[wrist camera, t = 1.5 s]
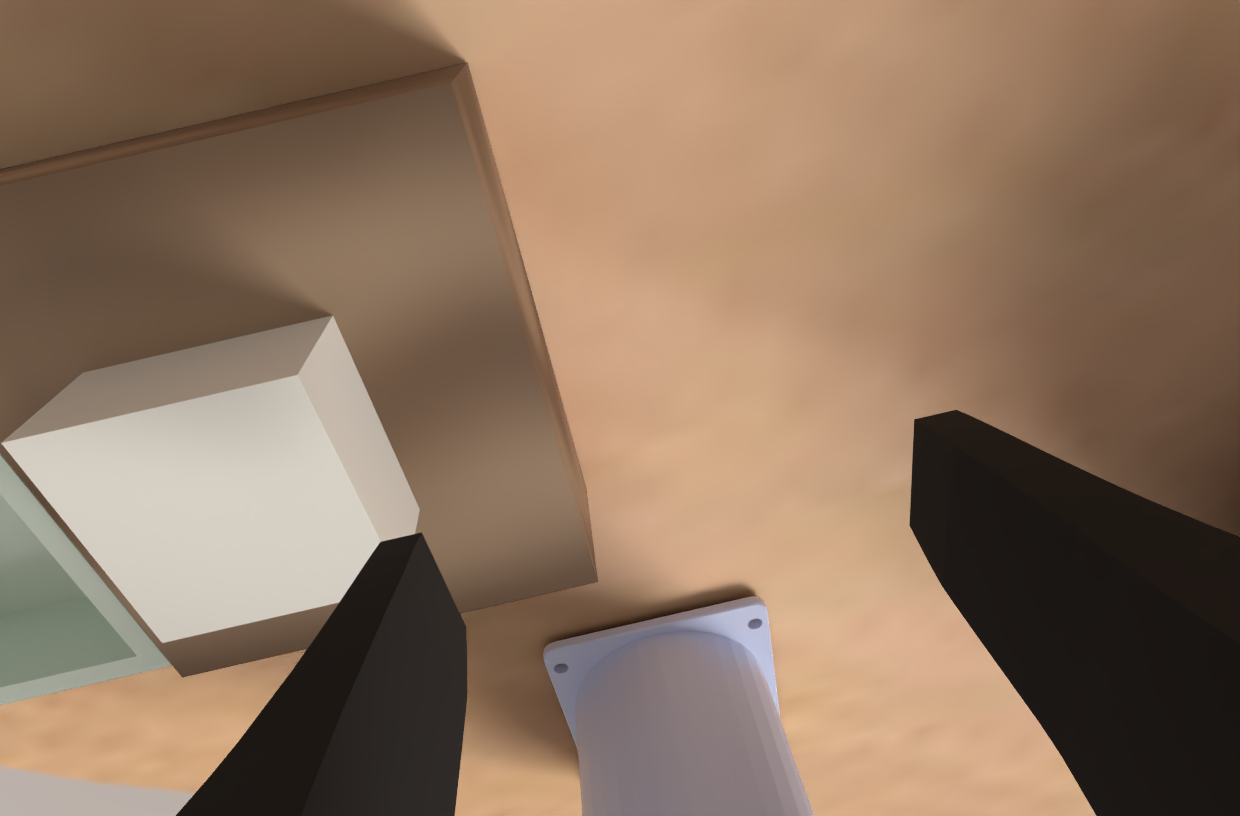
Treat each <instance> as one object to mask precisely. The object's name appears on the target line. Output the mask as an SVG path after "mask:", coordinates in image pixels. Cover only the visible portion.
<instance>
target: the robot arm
mask: <svg viewBox="0 0 1240 816" xmlns="http://www.w3.org/2000/svg"><path fill="white" fill-rule="evenodd" d="M910 527H911V529H912V531H913V533H914V535H915V537H916V539H917V541H918V542H919V544H920V546H921V548H922V550H923V552H924V554H925V556H926V558H927V560H928V562H929V563H930V565H931V567H932V569H933V571H934V572H935V574H936V576H937V578H938V580H939V581H940V583H941V585H942V587H943V588H944V589H945V591H946V592H947V594H948V595H949V597H950V598H951V600H952V601H953V602H954V604H955V605H956V607H957V608H958V610H959V611H960V612H961V614H962V615H963V617H964V618H965V619H966V621H967V622H968V624H969V625H970V627H971V628H972V629H973V631H974V632H975V634H976V635H977V636H978V638H979V639H980V641H981V642H982V643H983V645H984V646H985V648H986V649H987V650H988V652H989V653H990V654H991V656H992V657H993V659H994V660H995V661H996V663H997V664H998V666H999V667H1000V668H1001V670H1002V671H1003V673H1004V674H1005V675H1006V677H1007V678H1008V679H1009V681H1010V682H1011V684H1012V685H1013V686H1014V688H1015V689H1016V691H1017V692H1018V693H1019V695H1020V696H1021V698H1022V699H1023V700H1024V702H1025V703H1026V705H1027V706H1028V707H1029V709H1030V710H1031V711H1032V713H1033V714H1034V716H1035V717H1036V718H1037V720H1038V721H1039V723H1040V724H1041V726H1042V727H1043V729H1044V730H1045V732H1046V733H1047V735H1048V736H1049V738H1050V739H1051V741H1052V742H1053V744H1054V745H1055V747H1056V748H1057V750H1058V751H1059V753H1060V754H1061V756H1062V758H1063V759H1064V761H1065V763H1066V764H1067V766H1068V768H1069V769H1070V771H1071V773H1072V775H1073V776H1074V778H1075V780H1076V781H1077V783H1078V785H1079V787H1080V788H1081V790H1082V792H1083V793H1084V795H1085V797H1086V798H1087V800H1088V802H1089V804H1090V805H1091V807H1092V809H1093V810H1094V812H1095V814H1096V816H1240V537H1238V536H1236V535H1233V534H1230V533H1228V532H1225V531H1223V530H1220V529H1217V528H1215V527H1212V526H1210V525H1207V524H1205V523H1203V522H1200V521H1198V520H1195V519H1193V518H1191V517H1188V516H1186V515H1183V514H1181V513H1179V512H1176V511H1174V510H1171V509H1169V508H1167V507H1164V506H1162V505H1159V504H1157V503H1155V502H1152V501H1150V500H1148V499H1145V498H1143V497H1141V496H1139V495H1136V494H1134V493H1132V492H1130V491H1127V490H1125V489H1123V488H1121V487H1118V486H1116V485H1114V484H1112V483H1110V482H1107V481H1105V480H1103V479H1101V478H1099V477H1097V476H1094V475H1092V474H1090V473H1088V472H1086V471H1084V470H1082V469H1080V468H1077V467H1075V466H1073V465H1071V464H1069V463H1067V462H1065V461H1063V460H1061V459H1059V458H1057V457H1054V456H1052V455H1050V454H1048V453H1046V452H1044V451H1042V450H1040V449H1038V448H1036V447H1034V446H1032V445H1030V444H1028V443H1026V442H1024V441H1022V440H1020V439H1018V438H1016V437H1013V436H1011V435H1009V434H1007V433H1005V432H1003V431H1001V430H999V429H997V428H995V427H993V426H991V425H989V424H987V423H984V422H982V421H980V420H978V419H976V418H974V417H972V416H969V415H967V414H965V413H962V412H960V411H958V410H954V411H949V412H945V413H941V414H936V415H932V416H928V417H923V418H919V419H915V420H914V441H913V463H912V486H911V508H910ZM753 619H755V620H753ZM543 659H544V663H545V666H546V669H547V671H548V674H549V677H550V679H551V682H552V684H553V687H554V690H555V692H556V695H557V697H558V700H559V703H560V705H561V708H562V710H563V713H564V716H565V718H566V721H567V724H568V726H569V729H570V731H571V734H572V737H573V739H574V742H575V744H576V747H577V750H578V759H579V773H580V787H581V801H582V815H583V816H814V813H813V811H812V808H811V805H810V802H809V799H808V796H807V794H806V791H805V788H804V785H803V782H802V779H801V777H800V774H799V771H798V768H797V765H796V762H795V760H794V757H793V754H792V751H791V748H790V745H789V743H788V740H787V737H786V734H785V731H784V728H783V726H782V723H781V720H780V712H779V704H778V695H777V687H776V679H775V670H774V662H773V653H772V645H771V636H770V628H769V620H768V611H767V608H766V605H765V603H764V600H763V599H761V598H760V597H755V596H753V597H746V598H742V599H738V600H733V601H729V602H725V603H720V604H716V605H712V606H707V607H703V608H699V609H694V610H690V611H686V612H681V613H677V614H672V615H668V616H664V617H659V618H655V619H651V620H646V621H642V622H638V623H633V624H629V625H625V626H620V627H616V628H612V629H607V630H603V631H598V632H594V633H590V634H585V635H581V636H577V637H572V638H568V639H564V640H559V641H555V642H552V643H549V644H548V645H547V646H546V647H545V648H544V650H543ZM560 663H564V664H560ZM466 702H467V643H466V626H465V624H464V622H463V619H462V617H461V615H460V613H459V611H458V609H457V607H456V604H455V602H454V600H453V598H452V596H451V594H450V592H449V589H448V587H447V585H446V583H445V581H444V579H443V577H442V574H441V572H440V570H439V568H438V566H437V564H436V562H435V559H434V557H433V555H432V553H431V551H430V549H429V547H428V544H427V542H426V540H425V538H424V536H423V534H422V532H421V533H417V534H412V535H408V536H404V537H399V538H395V539H391V540H386V541H382V542H380V543H379V545H378V546H377V547H376V549H375V550H374V552H373V553H372V554H371V556H370V557H369V559H368V560H367V562H366V563H365V565H364V566H363V568H362V569H361V571H360V572H359V574H358V575H357V577H356V578H355V580H354V581H353V583H352V584H351V586H350V587H349V589H348V590H347V592H346V593H345V595H344V596H343V598H342V599H341V601H340V602H339V604H338V605H337V607H336V608H335V610H334V611H333V613H332V614H331V616H330V617H329V618H328V620H327V621H326V623H325V624H324V626H323V627H322V629H321V630H320V632H319V633H318V635H317V636H316V637H315V639H314V640H313V642H312V643H311V645H310V646H309V647H308V649H307V650H306V652H305V653H304V655H303V656H302V658H301V659H300V660H299V662H298V663H297V665H296V666H295V668H294V669H293V670H292V672H291V673H290V674H289V676H288V677H287V678H286V680H285V681H284V682H283V684H282V685H281V686H280V688H279V689H278V690H277V691H276V693H275V694H274V695H273V697H272V698H271V699H270V701H269V702H268V703H267V705H266V706H265V707H264V709H263V710H262V711H261V713H260V714H259V715H258V717H257V718H256V719H255V721H254V722H253V723H252V725H251V726H250V727H249V729H248V730H247V731H246V733H245V734H244V735H243V736H242V738H241V739H240V740H239V742H238V743H237V744H236V745H235V747H234V748H233V749H232V750H231V752H230V753H229V754H228V755H227V756H226V758H225V759H224V760H223V761H222V763H221V764H220V765H219V766H218V767H217V769H216V770H215V771H214V772H213V773H212V775H211V776H210V777H209V778H208V779H207V781H206V782H205V783H204V784H203V785H202V786H201V787H200V789H199V790H198V791H197V792H196V793H195V794H194V795H193V797H192V798H191V799H190V800H189V801H188V802H187V804H186V805H185V806H184V807H183V808H182V809H181V810H180V811H179V813H178V814H177V815H176V816H454V815H455V806H456V796H457V787H458V778H459V769H460V760H461V751H462V742H463V732H464V722H465V713H466Z"/></svg>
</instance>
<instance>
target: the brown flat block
mask: <svg viewBox="0 0 1240 816" xmlns="http://www.w3.org/2000/svg"><path fill="white" fill-rule="evenodd" d="M332 315H333V317H334V319H335V321H336V323H337V326H338V328H339V330H340V332H341V335H342V337H343V339H344V341H345V344H346V346H347V348H348V350H349V352H350V355H351V357H352V359H353V361H354V364H355V366H356V368H357V370H358V373H359V375H360V377H361V379H362V382H363V384H364V386H365V388H366V390H367V393H368V395H369V397H370V399H371V402H372V404H373V406H374V408H375V411H376V413H377V415H378V417H379V420H380V422H381V424H382V426H383V428H384V431H385V433H386V435H387V437H388V440H389V442H390V444H391V446H392V449H393V451H394V453H395V455H396V457H397V460H398V462H399V464H400V466H401V469H402V471H403V473H404V475H405V478H406V480H407V482H408V484H409V487H410V489H411V491H412V493H413V495H414V498H415V500H416V502H417V504H418V507H419V509H420V511H419V516H418V521H417V526H416V531H415V534H417V533H421V532H422V534H423V536H424V538H425V540H426V542H427V544H428V547H429V549H430V551H431V553H432V555H433V557H434V559H435V562H436V564H437V566H438V568H439V570H440V572H441V574H442V577H443V579H444V581H445V583H446V585H447V587H448V589H449V592H450V594H451V596H452V598H453V600H454V602H455V604H456V607H457V609H458V611H459V613H465V612H469V611H473V610H478V609H482V608H486V607H491V606H495V605H499V604H504V603H508V602H512V601H517V600H521V599H526V598H530V597H534V596H539V595H543V594H547V593H552V592H556V591H560V590H565V589H569V588H573V587H578V586H582V585H586V584H591V583H595V582H598V579H597V571H596V563H595V555H594V547H593V539H592V531H591V523H590V515H589V507H588V499H587V491H586V486H585V482H584V479H583V475H582V472H581V468H580V464H579V461H578V457H577V454H576V450H575V447H574V443H573V439H572V436H571V432H570V429H569V425H568V421H567V418H566V414H565V411H564V407H563V403H562V400H561V396H560V393H559V389H558V386H557V382H556V378H555V375H554V371H553V368H552V364H551V360H550V357H549V353H548V350H547V346H546V343H545V339H544V335H543V332H542V328H541V325H540V321H539V317H538V314H537V310H536V307H535V303H534V300H533V296H532V292H531V289H530V285H529V282H528V278H527V274H526V271H525V267H524V264H523V260H522V256H521V253H520V249H519V246H518V242H517V239H516V235H515V231H514V228H513V224H512V221H511V217H510V213H509V210H508V206H507V203H506V199H505V196H504V192H503V188H502V185H501V181H500V178H499V174H498V170H497V167H496V163H495V160H494V156H493V152H492V149H491V145H490V142H489V138H488V135H487V131H486V127H485V124H484V120H483V117H482V113H481V109H480V106H479V102H478V99H477V95H476V92H475V88H474V84H473V81H472V77H471V74H470V70H469V66H468V63H464V64H459V65H455V66H451V67H446V68H442V69H438V70H433V71H429V72H424V73H420V74H416V75H411V76H407V77H403V78H398V79H394V80H390V81H385V82H381V83H376V84H372V85H368V86H363V87H359V88H355V89H350V90H346V91H341V92H337V93H333V94H328V95H324V96H320V97H315V98H311V99H306V100H302V101H298V102H293V103H289V104H285V105H280V106H276V107H272V108H267V109H263V110H258V111H254V112H250V113H245V114H241V115H237V116H232V117H228V118H223V119H219V120H215V121H210V122H206V123H202V124H197V125H193V126H189V127H184V128H180V129H175V130H171V131H167V132H162V133H158V134H154V135H149V136H145V137H140V138H136V139H132V140H127V141H123V142H119V143H114V144H110V145H106V146H101V147H97V148H92V149H88V150H84V151H79V152H75V153H71V154H66V155H62V156H57V157H53V158H49V159H44V160H40V161H36V162H31V163H27V164H23V165H18V166H14V167H9V168H5V169H1V170H0V454H1V455H2V456H3V457H4V459H5V460H6V461H7V462H8V464H9V465H10V466H11V467H12V468H13V470H14V471H15V472H16V473H17V475H18V476H19V477H20V478H21V480H22V481H23V482H24V483H25V484H26V486H27V487H28V488H29V489H30V491H31V492H32V493H33V494H34V496H35V497H36V498H37V499H38V500H39V502H40V503H41V504H42V505H43V507H44V508H45V509H46V510H47V511H48V513H49V514H50V515H51V516H52V518H53V519H54V520H55V521H56V523H57V524H58V525H59V526H60V527H61V529H62V530H63V531H64V532H65V534H66V535H67V536H68V537H69V539H70V540H71V541H72V542H73V543H74V545H75V546H76V547H77V548H78V550H79V551H80V552H81V553H82V555H83V556H84V557H85V558H86V559H87V561H88V562H89V563H90V564H91V566H92V567H93V568H94V569H95V570H96V572H97V573H98V574H99V575H100V577H101V578H102V579H103V580H104V582H105V583H106V584H107V585H108V586H109V588H110V589H111V590H112V591H113V593H114V594H115V595H116V596H117V598H118V599H119V600H120V601H121V602H122V604H123V605H124V606H125V607H126V609H127V610H128V611H129V612H130V613H131V615H132V616H133V617H134V618H135V620H136V621H137V622H138V623H139V625H140V626H141V627H142V628H143V629H144V631H145V632H146V633H147V634H148V636H149V637H150V638H151V639H152V641H153V642H154V643H155V644H156V645H157V647H158V648H159V649H160V650H161V652H162V653H163V654H164V655H165V657H166V658H167V659H168V660H169V661H170V663H171V664H172V665H173V666H174V668H175V669H176V670H177V671H178V672H179V674H180V675H181V676H182V677H186V676H190V675H195V674H199V673H203V672H208V671H212V670H217V669H221V668H225V667H230V666H234V665H238V664H243V663H247V662H251V661H256V660H260V659H264V658H269V657H273V656H277V655H282V654H286V653H291V652H295V651H299V650H304V649H308V647H309V646H310V645H311V643H312V642H313V640H314V639H315V637H316V636H317V635H318V633H319V632H320V630H321V629H322V627H323V626H324V624H325V623H326V621H327V620H328V618H329V617H330V616H331V614H332V613H333V611H334V610H335V608H336V607H337V605H338V604H339V603H335V604H330V605H326V606H322V607H317V608H313V609H309V610H304V611H300V612H296V613H291V614H287V615H283V616H278V617H274V618H269V619H265V620H261V621H256V622H252V623H248V624H243V625H239V626H235V627H230V628H226V629H222V630H217V631H213V632H209V633H204V634H200V635H195V636H191V637H187V638H182V639H178V640H174V641H169V642H165V643H162V642H161V641H160V640H159V638H158V637H157V636H156V635H155V634H154V632H153V631H152V630H151V629H150V627H149V626H148V625H147V624H146V622H145V621H144V620H143V619H142V617H141V616H140V615H139V614H138V612H137V611H136V610H135V609H134V607H133V606H132V605H131V604H130V602H129V601H128V600H127V599H126V597H125V596H124V595H123V594H122V593H121V591H120V590H119V589H118V588H117V586H116V585H115V584H114V583H113V581H112V580H111V579H110V578H109V576H108V575H107V574H106V573H105V571H104V570H103V569H102V568H101V566H100V565H99V564H98V563H97V561H96V560H95V559H94V558H93V557H92V555H91V554H90V553H89V552H88V550H87V549H86V548H85V547H84V545H83V544H82V543H81V542H80V540H79V539H78V538H77V537H76V535H75V534H74V533H73V532H72V530H71V529H70V528H69V527H68V525H67V524H66V523H65V522H64V520H63V519H62V518H61V517H60V516H59V514H58V513H57V512H56V511H55V509H54V508H53V507H52V506H51V504H50V503H49V502H48V501H47V499H46V498H45V497H44V496H43V494H42V493H41V492H40V491H39V489H38V488H37V487H36V486H35V484H34V483H33V482H32V481H31V479H30V478H29V477H28V476H27V475H26V473H25V472H24V471H23V470H22V468H21V467H20V466H19V465H18V463H17V462H16V461H15V460H14V458H13V457H12V456H11V455H10V453H9V452H8V451H7V450H6V448H5V447H4V446H3V445H2V442H3V441H4V440H5V439H6V438H8V437H9V436H10V435H11V434H12V433H13V432H14V431H16V430H17V429H18V428H19V427H20V426H21V425H23V424H24V423H25V422H26V421H27V420H28V419H30V418H31V417H32V416H33V415H34V414H35V413H37V412H38V411H39V410H40V409H41V408H42V407H44V406H45V405H46V404H47V403H48V402H49V401H51V400H52V399H53V398H54V397H55V396H56V395H58V394H59V393H60V392H61V391H62V390H63V389H65V388H66V387H67V386H68V385H69V384H70V383H71V382H73V381H74V380H75V379H76V378H77V377H78V376H80V375H81V374H82V373H84V372H88V371H92V370H97V369H101V368H105V367H110V366H114V365H119V364H123V363H127V362H132V361H136V360H140V359H145V358H149V357H153V356H158V355H162V354H167V353H171V352H175V351H180V350H184V349H188V348H193V347H197V346H201V345H206V344H210V343H215V342H219V341H223V340H228V339H232V338H236V337H241V336H245V335H249V334H254V333H258V332H263V331H267V330H271V329H276V328H280V327H284V326H289V325H293V324H297V323H302V322H306V321H311V320H315V319H319V318H324V317H328V316H332Z"/></svg>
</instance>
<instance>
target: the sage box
mask: <svg viewBox="0 0 1240 816" xmlns="http://www.w3.org/2000/svg"><path fill="white" fill-rule="evenodd" d="M169 666H172V664H171V663H170V661H169V660H168V659H167V658H166V657H165V655H164V654H163V653H162V652H161V650H160V649H159V648H158V647H157V645H156V644H155V643H154V642H153V641H152V639H151V638H150V637H149V636H148V634H147V633H146V632H145V631H144V629H143V628H142V627H141V626H140V625H139V623H138V622H137V621H136V620H135V618H134V617H133V616H132V615H131V613H130V612H129V611H128V610H127V609H126V607H125V606H124V605H123V604H122V602H121V601H120V600H119V599H118V598H117V596H116V595H115V594H114V593H113V591H112V590H111V589H110V588H109V586H108V585H107V584H106V583H105V582H104V580H103V579H102V578H101V577H100V575H99V574H98V573H97V572H96V570H95V569H94V568H93V567H92V566H91V564H90V563H89V562H88V561H87V559H86V558H85V557H84V556H83V555H82V553H81V552H80V551H79V550H78V548H77V547H76V546H75V545H74V543H73V542H72V541H71V540H70V539H69V537H68V536H67V535H66V534H65V532H64V531H63V530H62V529H61V527H60V526H59V525H58V524H57V523H56V521H55V520H54V519H53V518H52V516H51V515H50V514H49V513H48V511H47V510H46V509H45V508H44V507H43V505H42V504H41V503H40V502H39V500H38V499H37V498H36V497H35V496H34V494H33V493H32V492H31V491H30V489H29V488H28V487H27V486H26V484H25V483H24V482H23V481H22V480H21V478H20V477H19V476H18V475H17V473H16V472H15V471H14V470H13V468H12V467H11V466H10V465H9V464H8V462H7V461H6V460H5V459H4V457H3V456H2V455H1V454H0V705H3V704H8V703H12V702H16V701H21V700H25V699H29V698H34V697H38V696H42V695H47V694H51V693H56V692H60V691H64V690H69V689H73V688H77V687H82V686H86V685H90V684H95V683H99V682H103V681H108V680H112V679H116V678H121V677H125V676H130V675H134V674H138V673H143V672H147V671H151V670H156V669H160V668H164V667H169Z"/></svg>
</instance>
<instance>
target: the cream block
mask: <svg viewBox="0 0 1240 816" xmlns="http://www.w3.org/2000/svg"><path fill="white" fill-rule="evenodd" d="M2 445H3V446H4V447H5V448H6V450H7V451H8V452H9V453H10V455H11V456H12V457H13V458H14V460H15V461H16V462H17V463H18V465H19V466H20V467H21V468H22V470H23V471H24V472H25V473H26V475H27V476H28V477H29V478H30V479H31V481H32V482H33V483H34V484H35V486H36V487H37V488H38V489H39V491H40V492H41V493H42V494H43V496H44V497H45V498H46V499H47V501H48V502H49V503H50V504H51V506H52V507H53V508H54V509H55V511H56V512H57V513H58V514H59V516H60V517H61V518H62V519H63V520H64V522H65V523H66V524H67V525H68V527H69V528H70V529H71V530H72V532H73V533H74V534H75V535H76V537H77V538H78V539H79V540H80V542H81V543H82V544H83V545H84V547H85V548H86V549H87V550H88V552H89V553H90V554H91V555H92V557H93V558H94V559H95V560H96V561H97V563H98V564H99V565H100V566H101V568H102V569H103V570H104V571H105V573H106V574H107V575H108V576H109V578H110V579H111V580H112V581H113V583H114V584H115V585H116V586H117V588H118V589H119V590H120V591H121V593H122V594H123V595H124V596H125V597H126V599H127V600H128V601H129V602H130V604H131V605H132V606H133V607H134V609H135V610H136V611H137V612H138V614H139V615H140V616H141V617H142V619H143V620H144V621H145V622H146V624H147V625H148V626H149V627H150V629H151V630H152V631H153V632H154V634H155V635H156V636H157V637H158V638H159V640H160V641H161V642H162V643H165V642H169V641H174V640H178V639H182V638H187V637H191V636H195V635H200V634H204V633H209V632H213V631H217V630H222V629H226V628H230V627H235V626H239V625H243V624H248V623H252V622H256V621H261V620H265V619H269V618H274V617H278V616H283V615H287V614H291V613H296V612H300V611H304V610H309V609H313V608H317V607H322V606H326V605H330V604H335V603H339V602H340V601H341V599H342V598H343V596H344V595H345V593H346V592H347V590H348V589H349V587H350V586H351V584H352V583H353V581H354V580H355V578H356V577H357V575H358V574H359V572H360V571H361V569H362V568H363V566H364V565H365V563H366V562H367V560H368V559H369V557H370V556H371V554H372V553H373V552H374V550H375V549H376V547H377V546H378V545H379V543H380V542H382V541H386V540H391V539H395V538H399V537H404V536H408V535H412V534H415V531H416V526H417V521H418V516H419V511H420V509H419V507H418V504H417V502H416V500H415V498H414V495H413V493H412V491H411V489H410V487H409V484H408V482H407V480H406V478H405V475H404V473H403V471H402V469H401V466H400V464H399V462H398V460H397V457H396V455H395V453H394V451H393V449H392V446H391V444H390V442H389V440H388V437H387V435H386V433H385V431H384V428H383V426H382V424H381V422H380V420H379V417H378V415H377V413H376V411H375V408H374V406H373V404H372V402H371V399H370V397H369V395H368V393H367V390H366V388H365V386H364V384H363V382H362V379H361V377H360V375H359V373H358V370H357V368H356V366H355V364H354V361H353V359H352V357H351V355H350V352H349V350H348V348H347V346H346V344H345V341H344V339H343V337H342V335H341V332H340V330H339V328H338V326H337V323H336V321H335V319H334V317H333V315H332V316H328V317H324V318H319V319H315V320H311V321H306V322H302V323H297V324H293V325H289V326H284V327H280V328H276V329H271V330H267V331H263V332H258V333H254V334H249V335H245V336H241V337H236V338H232V339H228V340H223V341H219V342H215V343H210V344H206V345H201V346H197V347H193V348H188V349H184V350H180V351H175V352H171V353H167V354H162V355H158V356H153V357H149V358H145V359H140V360H136V361H132V362H127V363H123V364H119V365H114V366H110V367H105V368H101V369H97V370H92V371H88V372H84V373H82V374H81V375H80V376H78V377H77V378H76V379H75V380H74V381H73V382H71V383H70V384H69V385H68V386H67V387H66V388H65V389H63V390H62V391H61V392H60V393H59V394H58V395H56V396H55V397H54V398H53V399H52V400H51V401H49V402H48V403H47V404H46V405H45V406H44V407H42V408H41V409H40V410H39V411H38V412H37V413H35V414H34V415H33V416H32V417H31V418H30V419H28V420H27V421H26V422H25V423H24V424H23V425H21V426H20V427H19V428H18V429H17V430H16V431H14V432H13V433H12V434H11V435H10V436H9V437H8V438H6V439H5V440H4V441H3V442H2Z"/></svg>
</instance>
